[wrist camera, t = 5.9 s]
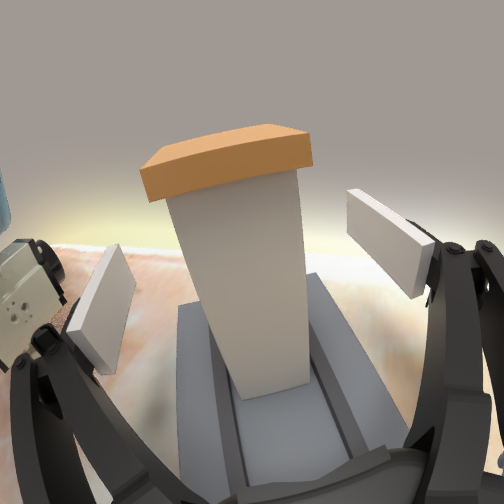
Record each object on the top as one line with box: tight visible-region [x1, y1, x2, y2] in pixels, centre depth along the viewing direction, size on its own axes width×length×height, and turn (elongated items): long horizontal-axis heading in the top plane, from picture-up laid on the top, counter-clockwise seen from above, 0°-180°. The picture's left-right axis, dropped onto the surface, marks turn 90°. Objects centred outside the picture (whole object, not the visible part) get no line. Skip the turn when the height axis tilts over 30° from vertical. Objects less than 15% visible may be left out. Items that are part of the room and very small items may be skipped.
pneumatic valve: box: [0, 239, 67, 373], centre depth 15 cm, size 6×12×12 cm, turn 162°
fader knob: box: [140, 124, 313, 400], centre depth 12 cm, size 5×5×13 cm
